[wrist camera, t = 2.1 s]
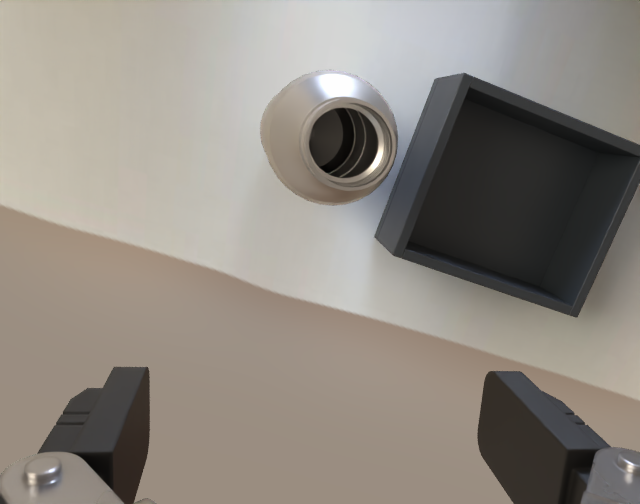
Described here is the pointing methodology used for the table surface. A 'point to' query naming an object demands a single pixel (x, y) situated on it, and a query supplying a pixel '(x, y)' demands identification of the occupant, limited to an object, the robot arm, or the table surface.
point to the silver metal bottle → (329, 137)
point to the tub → (509, 194)
